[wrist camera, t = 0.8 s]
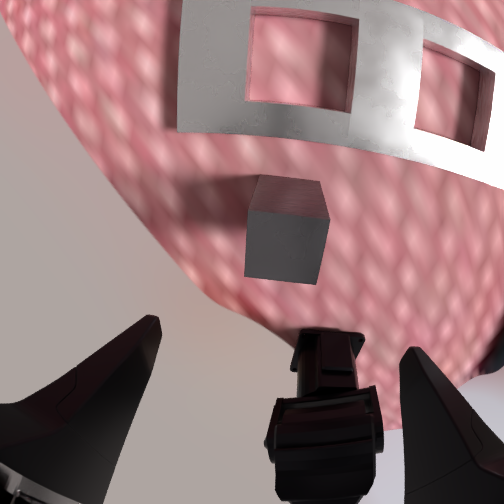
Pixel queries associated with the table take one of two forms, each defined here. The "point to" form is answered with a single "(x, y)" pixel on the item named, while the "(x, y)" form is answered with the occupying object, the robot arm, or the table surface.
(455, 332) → the table surface
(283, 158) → the table surface
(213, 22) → the metal plate with holes
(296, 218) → the dark grey block
